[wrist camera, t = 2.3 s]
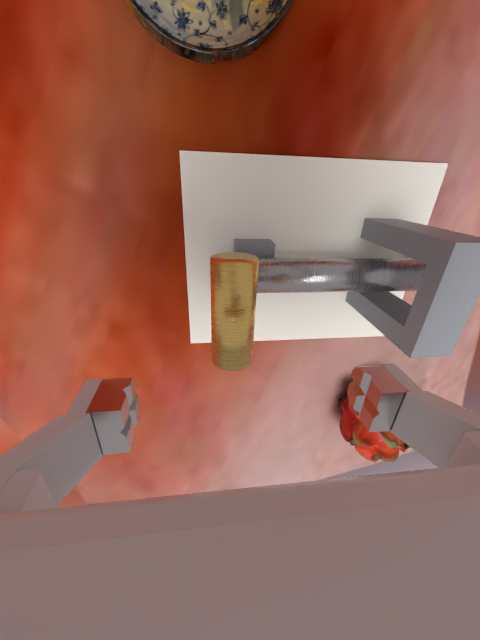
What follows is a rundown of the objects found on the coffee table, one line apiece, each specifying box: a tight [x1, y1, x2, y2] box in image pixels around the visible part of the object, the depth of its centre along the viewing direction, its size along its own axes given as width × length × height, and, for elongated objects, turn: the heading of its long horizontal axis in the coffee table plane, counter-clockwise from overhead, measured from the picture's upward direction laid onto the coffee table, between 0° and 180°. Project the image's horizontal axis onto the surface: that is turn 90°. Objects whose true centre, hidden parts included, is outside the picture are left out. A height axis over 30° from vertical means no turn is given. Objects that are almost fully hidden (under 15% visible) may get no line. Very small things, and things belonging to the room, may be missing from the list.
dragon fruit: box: [338, 395, 410, 462], centre depth 32 cm, size 8×8×12 cm
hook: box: [210, 252, 427, 371], centre depth 19 cm, size 19×6×10 cm, turn 88°
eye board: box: [179, 150, 480, 358], centre depth 20 cm, size 21×16×10 cm
